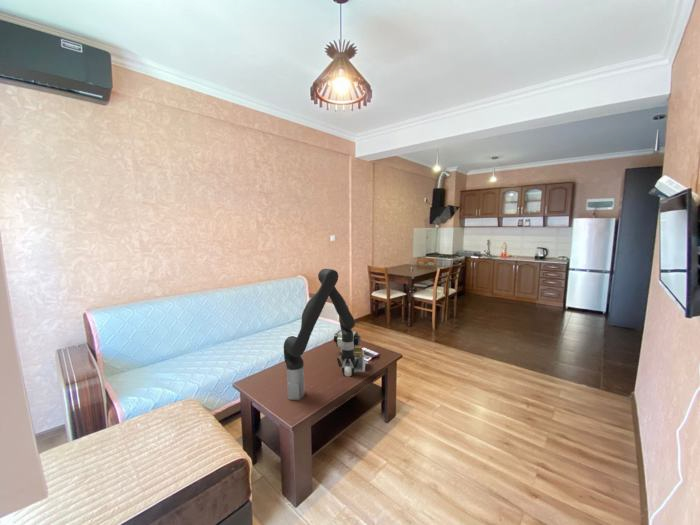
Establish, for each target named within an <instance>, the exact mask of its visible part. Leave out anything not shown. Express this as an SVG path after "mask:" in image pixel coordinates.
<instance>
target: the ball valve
mask: <svg viewBox="0 0 700 525" xmlns="http://www.w3.org/2000/svg"><path fill="white" fill-rule="evenodd" d="M352 332H353V341H354V347H358V346H360V345H361V342H362V341H361V338H362V337H361V335H359V333H358V331H353V330H352ZM333 343H335V345H336V348H337V347H339V348H340V354H342V331H341V329H339V330H338V331H337V332H336V333H334V336H333Z"/></svg>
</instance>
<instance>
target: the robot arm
mask: <svg viewBox="0 0 700 525" xmlns="http://www.w3.org/2000/svg"><path fill="white" fill-rule="evenodd" d="M317 276H318V281H319V283H320V284H321V285H320V287H319V289H318V290H317V292H315V293H314V295H313V296H312V297H311V298H310V299H309V300H308V301H307V303H306V305H305V307H304V309H303V312H302V314H301V326H300V330H299V332H298V335H297V337H296V336H294V335H292V336H291V335H290V336H288V337H287V338H285V340H284V343H283V357H284V358H283V359H284V362H285V366H286V385H287V399H288V400H290V401H291V400H293V401H300V400H301V399H303V397H305V371H304V367H305V366H304V364H305V363H304V359H303V358H302V355H303V354H304V352H306V349H307V346H308V343H309V340H310V339H311V335H312V333H313V331H314V328H315V325H316V324H317V321H318V320H319V318H320V316H321V313H322V312H323V309H324V306H326V303H327V301H328V298H330V300H331V302H332V305H333V306H334V309H335V311H336V314H337V315H338V316H339V317H340V320H339V324H340V325H339V327H340V330H341V331H342V347H341V348H342V353H341V356H337V357H336V361H337V365H338V367H339V368H341V372H342V374H344V365H345V364H346V363H350V364H351V366H352V375H353V374H354V373H355V372H354V368H356V367H357V364H358V361H359V357H355V356H354V341H353V332H354V331H353V330H352V329H353V328H354V327H355V325H356V320H355V318H354V316H353V315H352V313H351V312H350V310H349V308H348V305H347V303H346V301H345V299H344V297H343V296H342V294H341V293H340V292H339V291H338V290H337V287H336V284H337V283H338V281H339V273H338V271H337V270H336V269H332V268H331V269H330V268H323V269H320V270H319V272H318V275H317ZM352 331H353V332H352ZM354 359H355V361H356V364H355V365H354V363H353V360H354ZM341 360H342V361H343V362H342V361H341Z"/></svg>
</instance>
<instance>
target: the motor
mask: <svg viewBox="0 0 700 525" xmlns="http://www.w3.org/2000/svg"><path fill="white" fill-rule="evenodd" d="M362 349H363V347H362V346H356V347H354V356H355V357H359V361H358V364H357V367H356V368H354V373H355V372H357V373H365V371H366V364H367V361H364V354H365V351H364V350H362ZM353 363H354V365H355V364H356V361H355V359H354V360H353Z"/></svg>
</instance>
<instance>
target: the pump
mask: <svg viewBox="0 0 700 525" xmlns="http://www.w3.org/2000/svg"><path fill="white" fill-rule="evenodd" d="M343 374H344V376H346V377H350V376H352V375H353V374H352V366H351V364H350V363H345V365H344V373H343Z"/></svg>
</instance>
